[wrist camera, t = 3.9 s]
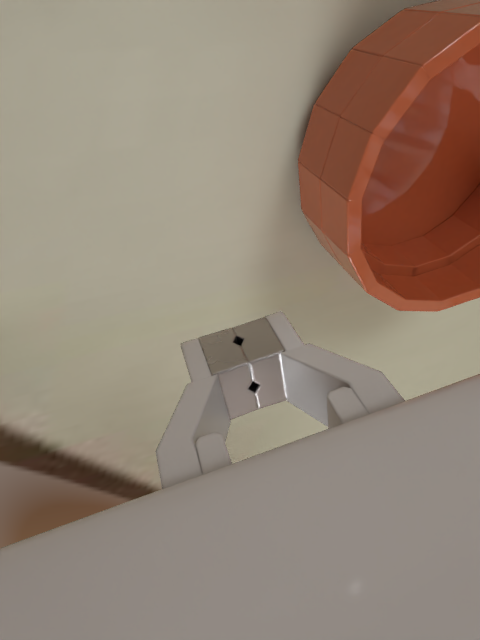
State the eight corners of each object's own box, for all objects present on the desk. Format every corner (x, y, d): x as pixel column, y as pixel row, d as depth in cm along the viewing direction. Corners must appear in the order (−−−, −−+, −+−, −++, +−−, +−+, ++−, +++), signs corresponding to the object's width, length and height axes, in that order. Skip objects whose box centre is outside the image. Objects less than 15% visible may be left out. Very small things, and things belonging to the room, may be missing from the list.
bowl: (281, 34, 16) (347, 50, 12) (545, -28, 18) (677, -31, 14) (302, 283, 23) (347, 342, 19) (488, 224, 25) (564, 269, 21)
